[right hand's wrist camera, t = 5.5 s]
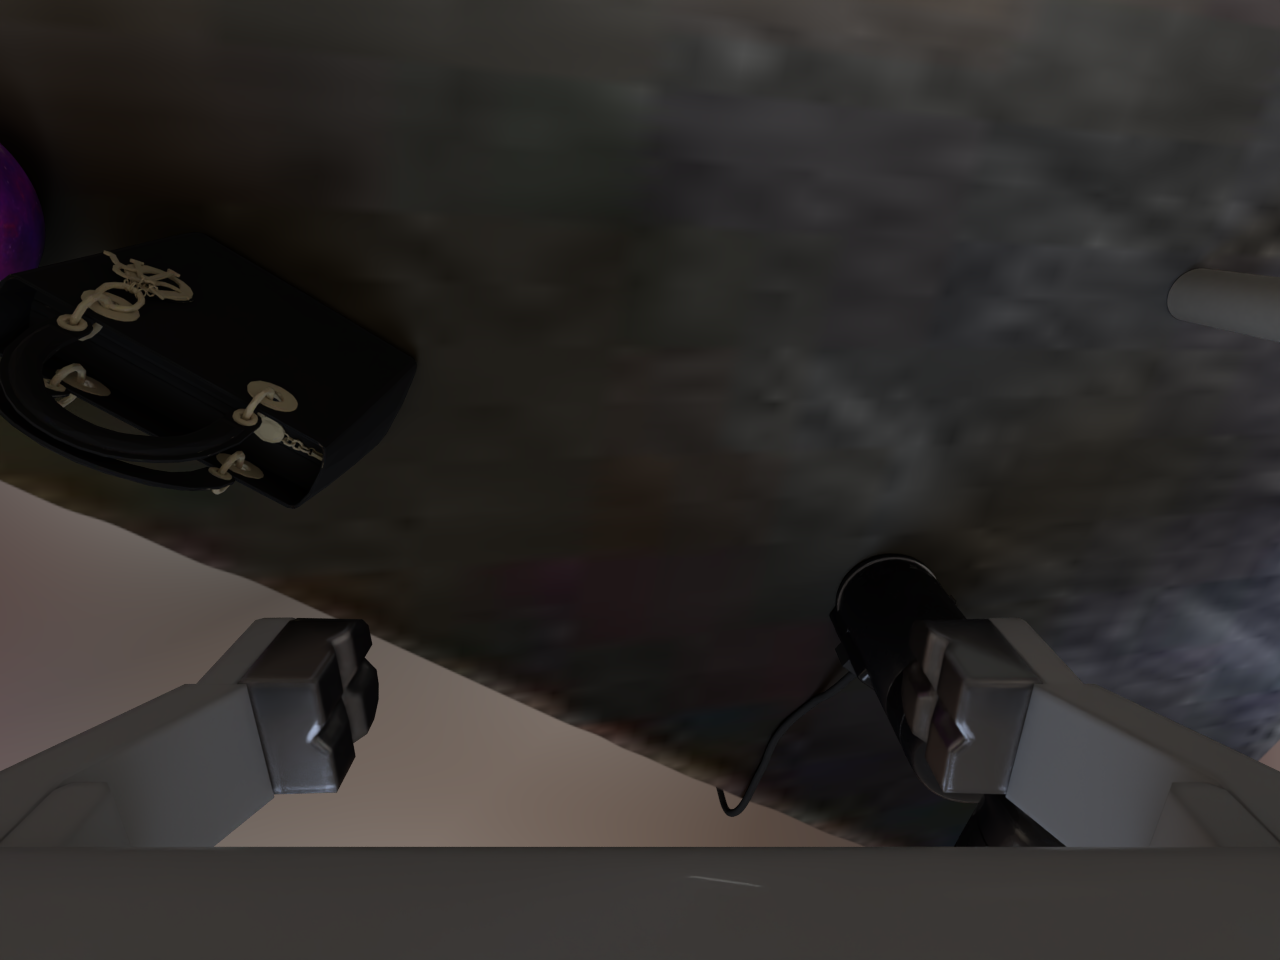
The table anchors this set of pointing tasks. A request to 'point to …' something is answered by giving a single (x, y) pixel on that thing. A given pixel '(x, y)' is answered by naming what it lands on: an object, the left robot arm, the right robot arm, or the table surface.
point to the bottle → (1228, 302)
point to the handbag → (194, 370)
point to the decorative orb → (18, 219)
